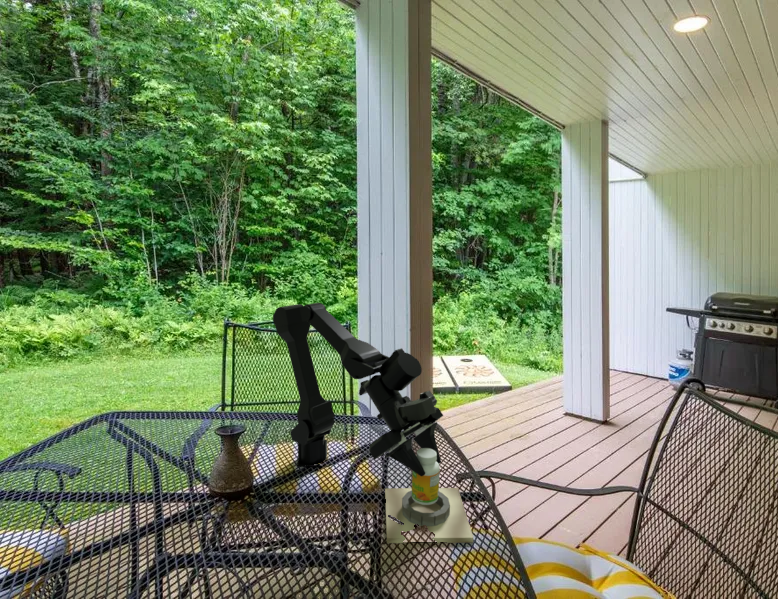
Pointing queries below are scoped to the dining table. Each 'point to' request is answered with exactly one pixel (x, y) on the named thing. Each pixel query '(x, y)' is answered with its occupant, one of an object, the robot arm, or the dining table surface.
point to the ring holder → (427, 516)
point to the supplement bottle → (426, 478)
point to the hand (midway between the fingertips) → (431, 469)
